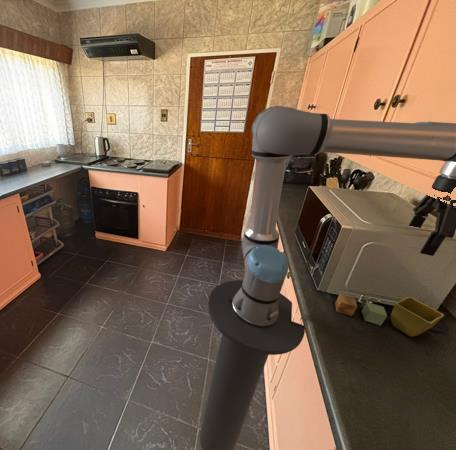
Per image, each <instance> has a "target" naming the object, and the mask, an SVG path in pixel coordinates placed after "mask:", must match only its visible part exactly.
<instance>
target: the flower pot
mask: <svg viewBox="0 0 456 450" xmlns="http://www.w3.org/2000/svg"><path fill="white" fill-rule="evenodd" d="M444 317H445V314H444V313H442V312H441V311H439V310H436V309H435V308H433V307H430V306H429V305H427V304H425V303H424V302H421V301H419V300H418V299H415V298H413V297H412V296H407V297H405V298H403V299H401V300H398V301H396V302H395V304H394V306H393V308H392V311H391V313H390V323H391V325H392V326H393V327H394V328H396V329H398V330H399V331H400V332H401V333H403V334H405V335H407V336H408V337H411V338H413V337H414V338H415V337H418V336H420V335H422V334H423V333H424V332H426V331H427V330H429V329H431V328H432V327H434V326H435V325H436V324H437V323H438V322H439V321H440V320H442V319H443V318H444Z"/></svg>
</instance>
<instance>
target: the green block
mask: <svg viewBox="0 0 456 450" xmlns="http://www.w3.org/2000/svg"><path fill="white" fill-rule="evenodd" d="M361 313H362V317H363V320H364V321H365V322H368V323H371V324H373V325H378V326H383V323H384V322H385V320H386V319H387V317H388V315H387V312H386V309H385V307H384V306H382V305H379V304H375V303H372V302H368V301H367V302H366V303H365V305H364V307H363V309H362V310H361Z"/></svg>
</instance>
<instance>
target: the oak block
mask: <svg viewBox="0 0 456 450" xmlns="http://www.w3.org/2000/svg"><path fill="white" fill-rule="evenodd" d="M334 306H335V310H336V312H337V313H339V314H343V315H345V316H349V317H353V315H354V314H355V312H356V310H357V308H358V305H357V301H356V298H354V297H351V296H348V295H344V294H341V293H339V295H338V297H337V298H336V300H335V302H334Z"/></svg>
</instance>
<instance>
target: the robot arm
mask: <svg viewBox="0 0 456 450" xmlns="http://www.w3.org/2000/svg"><path fill="white" fill-rule="evenodd" d="M251 136H252V145H251V156H252V158H254V160H255V167H254V176H253V186H252V197H251V207H250V216H249V225H248V226H247V227H246V228H245V229H244V234H243V238H242V240H241V250H242V256H243V263H244V275H243V283H242V287H241V288H240V290H239V291H238V292H237V294H236V295H235V296H234V298H229V299H228V300H229V301H233V302H232V308H233V311H234V313H235V314H236V315H237V317H238V318H239V319H241V320H242V321H243V322H245V323H247V324H249V325H251V326H255V327H260V328H266V327H271V326H273V325H274V324H275V323H276V322H277V319H278V317H279V308H278V297H279V294H280V293H281V291H282V288H283V286H284V283H285V280H286V278H287V275H288V273H289V266H290V262H289V259H288V257H287V255H286V254H285V253H284V252H283V251H280V249H279V248H278V247H279V242H280V232H279V230H277V222H278V215H279V209H280V203H281V196H282V190H283V185H284V184H283V183H284V178H285V172H286V171H285V170H286V165H287V164H286V163H287V160H289V159H290V158H291V157H293V155H295V156H317V155H318V154H320V153H329V154H343V155H357V156H358V155H359V156H371V157H372V156H373V157H386V158H401V159H415V160H426V161H427V160H428V161H440V162H442V161H443V162H444V163H443V164H442V166H441V168H440V169H439V171H438V173H439V174H438V175H437V176H436V177H435V179H434V181H433V183H432V185H431V188H433V189H435V190H438V191H441V192H448V193H450V194H451V192H452V191H453V189H454V188H455V187H456V122H443V121H442V122H439V121H417V122H396V121H381V120H380V121H379V120H362V119H361V120H360V119H359V120H358V119H343V118H342V119H341V118H331V117H330V116H329V114H327V113H317V112H310V111H304V110H301V109H296V108H294V107H289V106H284V105H274V106H269V107H267V108H265V109H264V110H262V111H261V112H260V113H258V115H257V116H256V117H255V118H254V121H253V123H252V126H251ZM434 196H435V195H434ZM439 198H440V197H437V199H435V198H433V197H430V196H428V195H427V194H426V195H424V196H423V198H422V199H421V200H420V201H419V202H418V203H417V204H416V205H415V206H414V207H413V209H412V211H413V212H414V213H413V217H412V219H411V220H410V222H409V224H408V226H414V227H419V228H420V229H421V228H422V226H423V225H424V224H425V223H424V222H425V221H426V219H427V218H429V215H430V214H431V213H432V212H435V213H436V219H435V226H434V231H432V232H430V235H429V237H428V238H427V240H426V241H425V243H424V245H423V246H422V248H421V250H420V252H419V253H420V254H421V255H427V256H431V257H434V256H435V254H436V253H437V252H438V250H439V248H440V246H441V245H442V244H443V242H444V240H445V239H446V238H449V239H453V238H454V237H455V233H456V206H453V203H456V200H451V198H450V196H448V195H447V196H446V197H443V200H446V201H450V200H451V201H450V204H447V202H446V203H445V201H444V202H442V201H440V199H442V198H440V199H439Z"/></svg>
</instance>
